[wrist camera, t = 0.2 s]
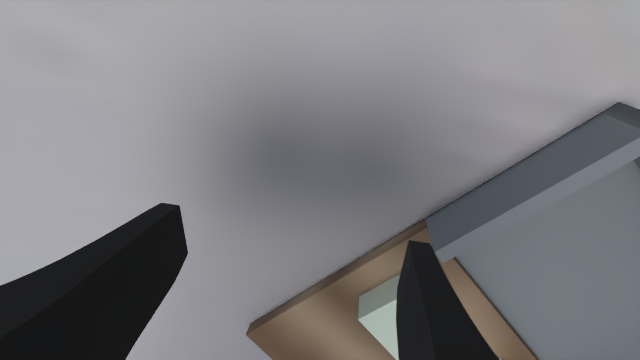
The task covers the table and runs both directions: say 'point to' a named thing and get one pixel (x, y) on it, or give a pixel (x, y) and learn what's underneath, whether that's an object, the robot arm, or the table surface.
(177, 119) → the table surface
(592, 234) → the tray
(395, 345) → the sage tile
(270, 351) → the walnut board
